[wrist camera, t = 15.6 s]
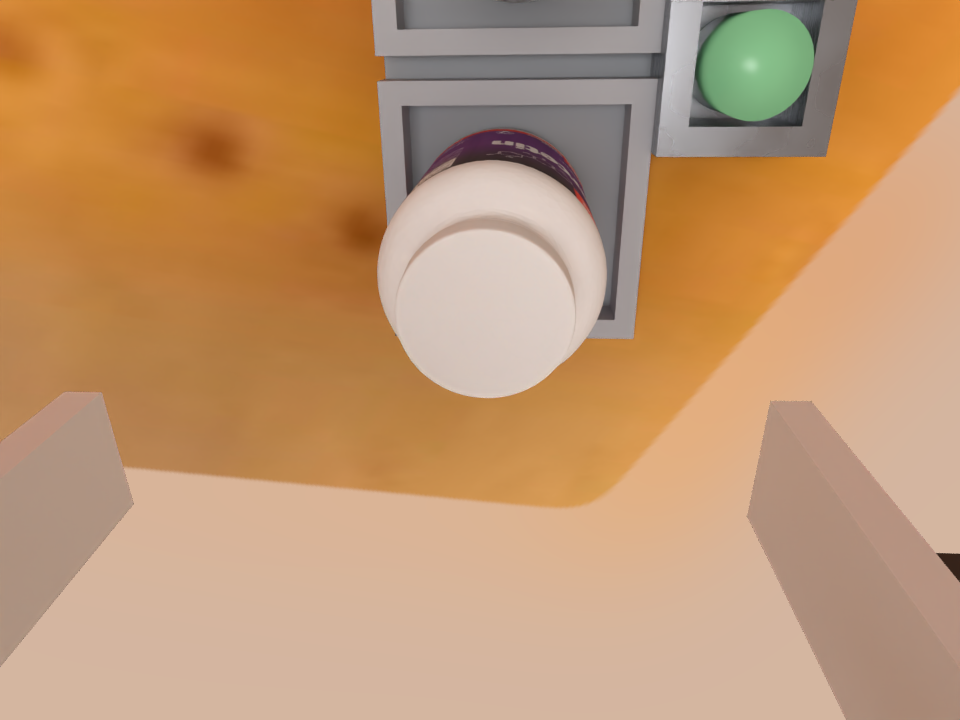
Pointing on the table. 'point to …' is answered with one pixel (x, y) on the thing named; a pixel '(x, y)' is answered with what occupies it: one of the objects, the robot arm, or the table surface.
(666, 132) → the grey square open box
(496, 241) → the pill bottle
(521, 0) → the billet
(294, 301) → the table surface
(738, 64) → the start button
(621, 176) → the grey compartment tray
